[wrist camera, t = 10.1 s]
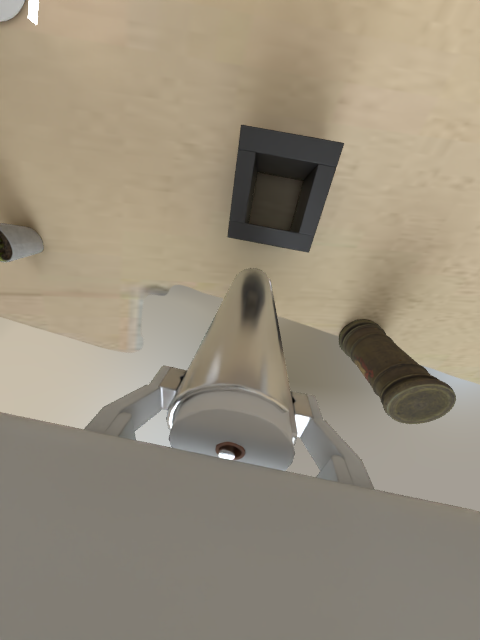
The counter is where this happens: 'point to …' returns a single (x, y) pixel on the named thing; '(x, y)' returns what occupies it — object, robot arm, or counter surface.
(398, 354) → the container
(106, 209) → the counter surface
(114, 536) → the robot arm
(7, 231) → the house plant
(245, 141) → the box
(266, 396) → the silver tall cylinder
